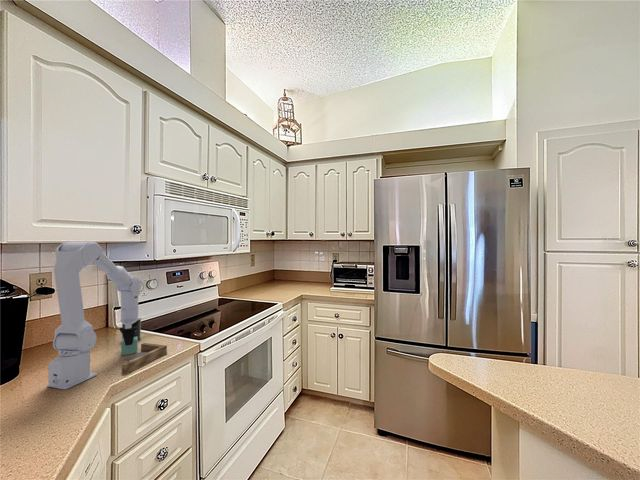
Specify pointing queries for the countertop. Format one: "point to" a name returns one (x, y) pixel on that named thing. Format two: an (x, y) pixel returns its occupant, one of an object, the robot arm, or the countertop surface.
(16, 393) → the countertop surface
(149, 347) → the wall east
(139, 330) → the supplement bottle
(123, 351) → the cube
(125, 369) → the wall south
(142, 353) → the mat
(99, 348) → the countertop surface
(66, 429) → the countertop surface
